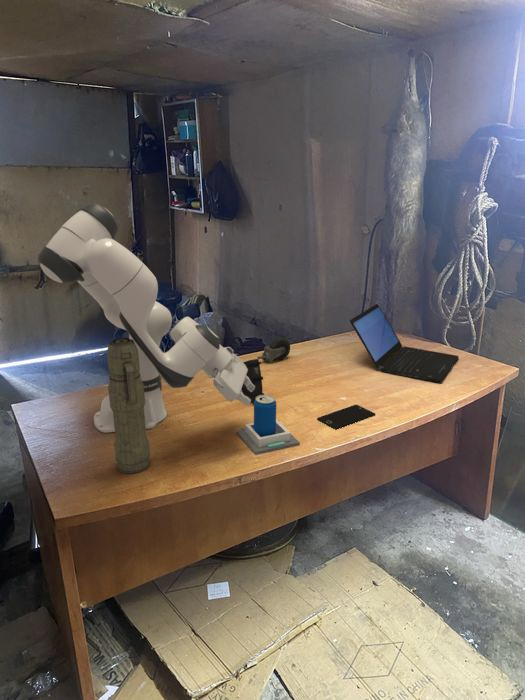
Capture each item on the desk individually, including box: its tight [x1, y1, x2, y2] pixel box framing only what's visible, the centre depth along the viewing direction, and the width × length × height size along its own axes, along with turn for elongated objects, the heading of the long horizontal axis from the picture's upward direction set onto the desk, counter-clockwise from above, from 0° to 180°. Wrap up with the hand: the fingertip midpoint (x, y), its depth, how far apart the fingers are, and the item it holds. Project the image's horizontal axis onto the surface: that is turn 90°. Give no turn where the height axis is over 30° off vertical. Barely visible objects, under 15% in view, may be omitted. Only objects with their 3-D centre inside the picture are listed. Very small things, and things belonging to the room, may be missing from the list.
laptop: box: [349, 303, 459, 383], centre depth 217 cm, size 33×38×19 cm
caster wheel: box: [256, 337, 291, 364], centre depth 218 cm, size 6×10×15 cm
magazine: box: [241, 358, 265, 405], centre depth 183 cm, size 4×13×15 cm, turn 27°
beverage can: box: [253, 394, 277, 437], centre depth 156 cm, size 6×6×12 cm
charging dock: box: [236, 418, 301, 455], centre depth 157 cm, size 14×14×3 cm
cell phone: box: [316, 404, 376, 431], centre depth 171 cm, size 9×18×1 cm, turn 126°
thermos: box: [106, 337, 151, 474], centre depth 137 cm, size 9×12×35 cm
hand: (251, 396), depth 155 cm, fingers open, 8 cm apart
